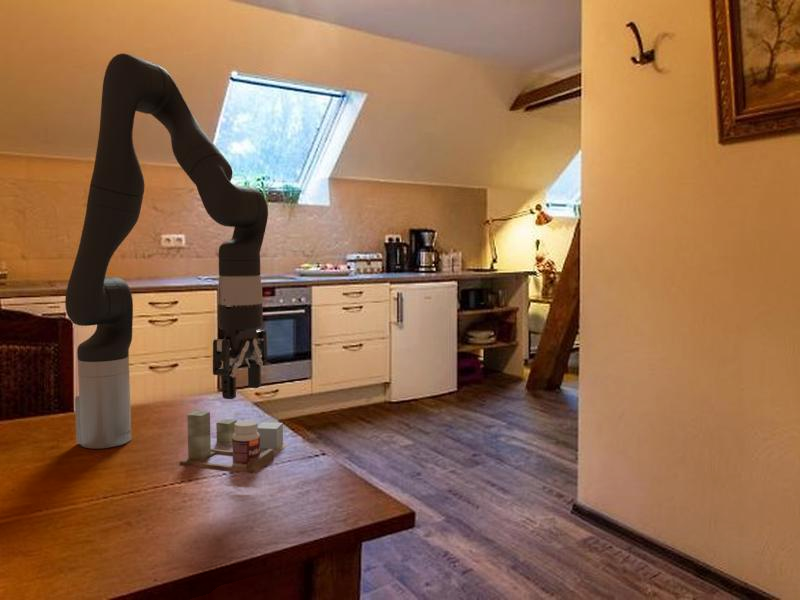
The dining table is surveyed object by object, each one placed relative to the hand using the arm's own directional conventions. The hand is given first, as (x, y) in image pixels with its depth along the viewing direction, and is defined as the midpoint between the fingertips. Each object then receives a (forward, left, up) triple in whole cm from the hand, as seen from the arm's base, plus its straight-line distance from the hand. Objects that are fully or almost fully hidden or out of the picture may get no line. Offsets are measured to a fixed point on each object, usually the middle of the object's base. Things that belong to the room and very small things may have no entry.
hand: (242, 392), depth 107 cm
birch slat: (-4, +10, -14) cm, 17 cm away
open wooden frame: (-3, 0, -14) cm, 14 cm away
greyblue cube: (0, +10, -13) cm, 16 cm away
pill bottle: (+1, 0, -14) cm, 14 cm away
